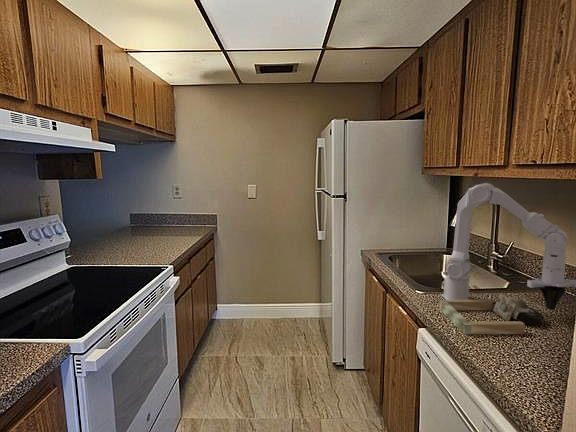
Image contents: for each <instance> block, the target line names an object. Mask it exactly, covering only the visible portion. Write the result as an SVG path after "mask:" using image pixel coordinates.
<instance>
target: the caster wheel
mask: <svg viewBox="0 0 576 432" xmlns="http://www.w3.org/2000/svg"><path fill="white" fill-rule="evenodd" d="M492 310H493V312H494V313H495V314H497V315H498V316H499V317H501V318H502V319H503V320H505V321H510V320H511V318H512V319H514V320H516V321H521V322H523V323H524V324H527V325H530V326H534V327H537V326H540V325H541V323H542V321H543V320H544V319H543V318H544V317H543V314H541V313H540V312H538V310H536V309H534V308H532V307H529V306H528V304H527V303H526V302H525V301H524V300H522V299H521V298H517V297H506V296H505V295H503V294H502V293H499V295H498V297H497V300H496V302H495V304H494V307H493V308H492Z"/></svg>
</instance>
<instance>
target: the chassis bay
mask: <svg viewBox="0 0 576 432" xmlns="http://www.w3.org/2000/svg"><path fill="white" fill-rule="evenodd" d="M493 304H494V302H493V300H491V299H469V300H446V299H439V300H438V309H439V310H440V311H441V312H442V313H443V314H444V315H445V316H446V317H447V319H448V320H450V322H451V323H453V325H454V326H455V327H456V328H458V330H459V331H460V332H461V333H463V335H518V334H519V335H524V334H525V331H526V329H525V327H526V325H525V324H526V323H524V322H521V321H519V320H516V321H515V320H513V321H510V320H509V321H506V320H505V321H504V320H503V321H468V320H467V319H466V318H465V316H463V315H462V314H461V313H460V312H458V311H492V310H493Z"/></svg>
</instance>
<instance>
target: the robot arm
mask: <svg viewBox="0 0 576 432" xmlns="http://www.w3.org/2000/svg"><path fill="white" fill-rule="evenodd" d="M487 202H489V204H493V205H499V206H501V207H502V208H504V209H506V210H507V211H508V212H509V213H511V214H513V215H514V216H515V217H517V218H518V219H520V220H521V225H522V227H524V228H525V229H526V230H528V231H529V232H530V233H531V234H533V235H534V236H535V237H537V239H539V240H542V242H543V245H544V251H543V256H542V270H541V271H542V272H541V278H536V279H527V283H526V286H527V287H529V288H530V289H534V288H539V289H540V290H539V291H540V292H541V293H542V296H543V299H544V302H545V306H546V308H547V309H549V310H552V311H553V310H554V311H555V310H556V308H557V305H558V302H559V301H560V300H561V298H562V296H563V295H564V294H565V293H566V289H565V288H566V287H567V288H576V279H565V273H566V261H567V260H566V259H567V247H566V246H567V245H568V234H567V233H566V231H564V229H563V228H559V226H558V225H556V224H553V223H552V222H550V221H549V220H547V219H546V218H545V215H544V214H542V213H540V214H539V213H538V212H534V211H533V212H529V211H528V210H527V209H525V207H524V206H522V205H521V204H519V203H518V202H517V201H516V200H514V199H513V197H511V196H510V195H508V194H507V193H506V192H504V191H503V190H502V189H500V188H498V187H495V186H494V185H493V184H492V183H490V182H484V183H479V184H476V185H474V186H473V187H470V188H468V189H467V191H466V193H465V194H464V195H463V196H462V198H461V199H460V200H459V201H458V203H457V208H456V215H455V216H456V217H455V226H454V238H453V248H452V253H451V255H450V258H449V263H447V266H446V269H445V271H446V274H447V275H446V276H445V278H444V280H443V293H442V294H441V297H442V298H444V300H470V299H469V296H470V295H469V293H470V276H469V272H470V271H471V270H472V263H471V261H470V253H469V247H470V239H471V228H472V221H473V219H472V218H473V210H474V209H475V208H477V207H478V206H479V205H481V204H484V203H487Z"/></svg>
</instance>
